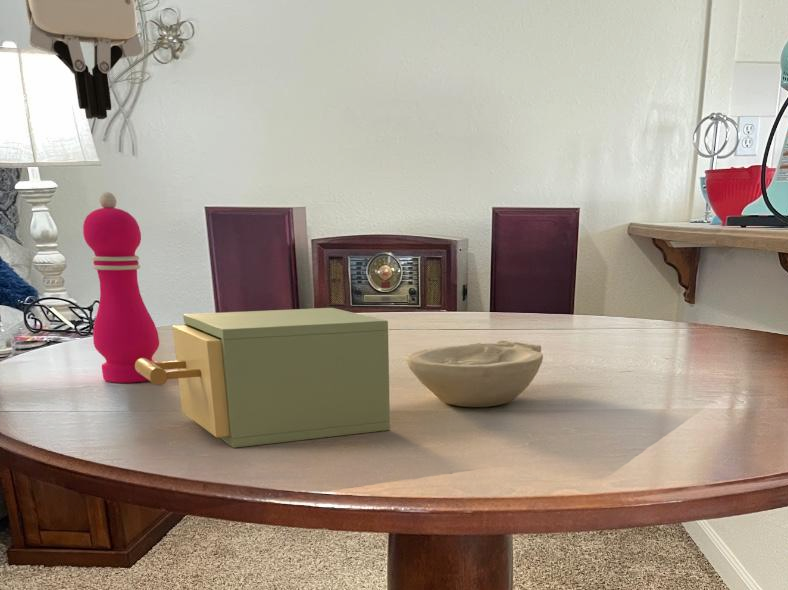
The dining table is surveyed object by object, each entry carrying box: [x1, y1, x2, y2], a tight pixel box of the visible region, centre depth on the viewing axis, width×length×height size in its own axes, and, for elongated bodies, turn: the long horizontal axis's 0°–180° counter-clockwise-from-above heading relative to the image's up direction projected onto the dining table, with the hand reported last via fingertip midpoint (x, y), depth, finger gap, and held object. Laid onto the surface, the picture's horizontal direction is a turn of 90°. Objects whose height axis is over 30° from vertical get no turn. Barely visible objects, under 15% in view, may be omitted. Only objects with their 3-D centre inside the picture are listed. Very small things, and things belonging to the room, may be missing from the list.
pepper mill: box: [82, 191, 160, 384], centre depth 101 cm, size 7×7×20 cm
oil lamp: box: [405, 340, 544, 408], centre depth 96 cm, size 21×14×5 cm
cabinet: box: [182, 307, 391, 449], centre depth 81 cm, size 15×13×10 cm
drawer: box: [135, 324, 230, 438], centre depth 79 cm, size 18×11×8 cm, turn 119°
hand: (96, 117), depth 94 cm, fingers closed
